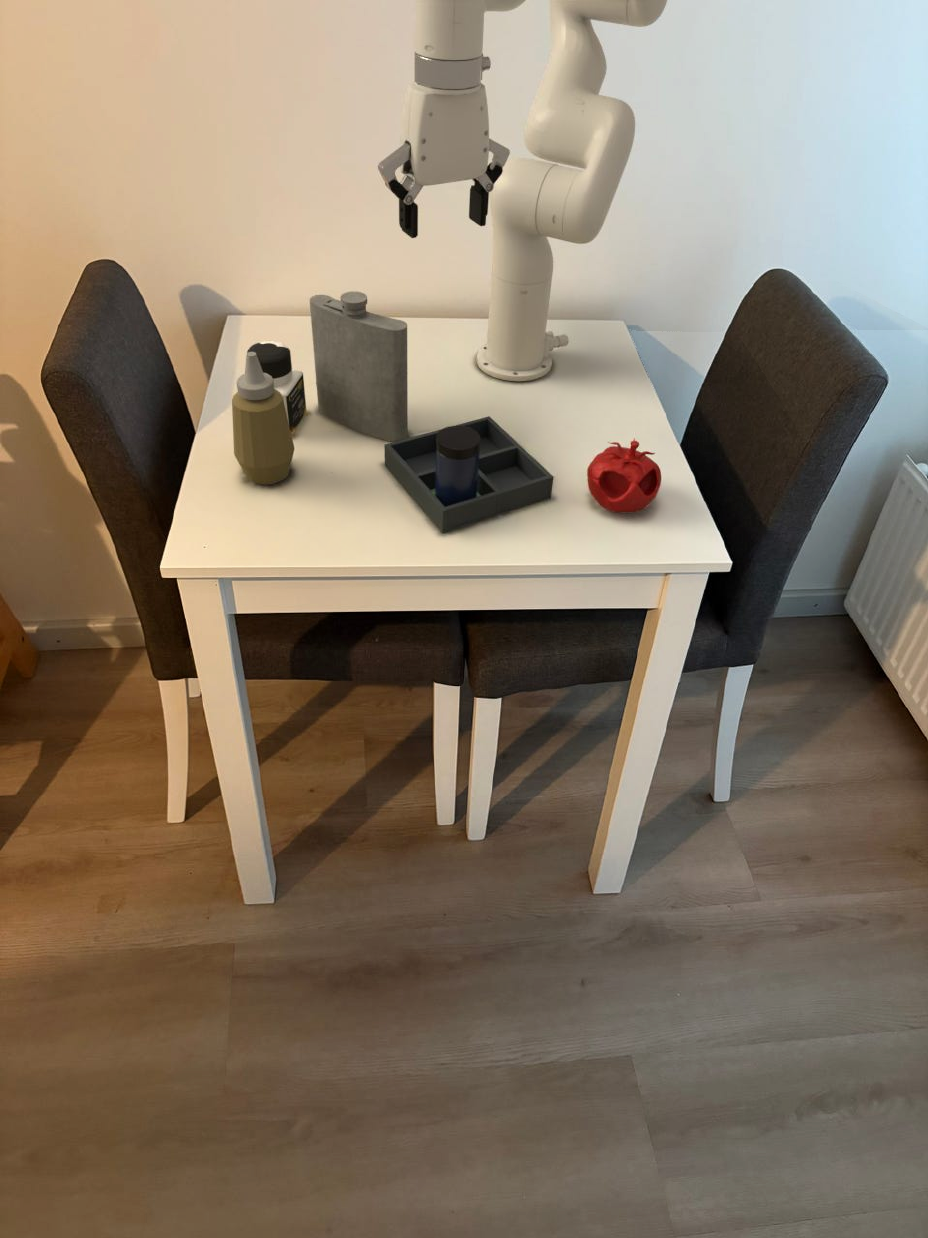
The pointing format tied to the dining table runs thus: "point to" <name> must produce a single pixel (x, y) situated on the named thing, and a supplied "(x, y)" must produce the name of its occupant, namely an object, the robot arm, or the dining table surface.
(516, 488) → the tray
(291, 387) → the medicine bottle
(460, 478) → the thermos
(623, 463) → the red hollow tomato
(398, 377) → the hip flask
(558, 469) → the dining table surface
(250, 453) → the squeeze bottle
